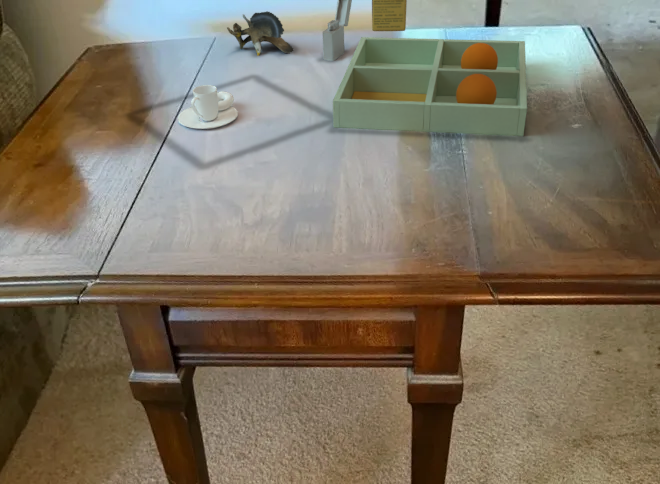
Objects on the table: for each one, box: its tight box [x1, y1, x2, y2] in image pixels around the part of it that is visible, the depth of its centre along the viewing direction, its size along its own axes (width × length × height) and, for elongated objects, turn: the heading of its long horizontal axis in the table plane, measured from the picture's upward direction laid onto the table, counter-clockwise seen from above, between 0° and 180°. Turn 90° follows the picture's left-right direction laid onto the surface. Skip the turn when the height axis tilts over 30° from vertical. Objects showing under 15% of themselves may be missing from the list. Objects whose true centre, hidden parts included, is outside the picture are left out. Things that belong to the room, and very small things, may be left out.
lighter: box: [322, 0, 353, 62], centre depth 116 cm, size 7×2×8 cm, turn 153°
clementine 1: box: [461, 43, 498, 70], centre depth 105 cm, size 5×5×5 cm
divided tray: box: [332, 36, 528, 137], centre depth 103 cm, size 23×23×4 cm
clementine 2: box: [456, 74, 497, 105], centre depth 97 cm, size 5×5×5 cm
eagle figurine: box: [226, 10, 295, 57], centre depth 119 cm, size 8×7×9 cm
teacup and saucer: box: [177, 84, 239, 130], centre depth 101 cm, size 9×8×4 cm
